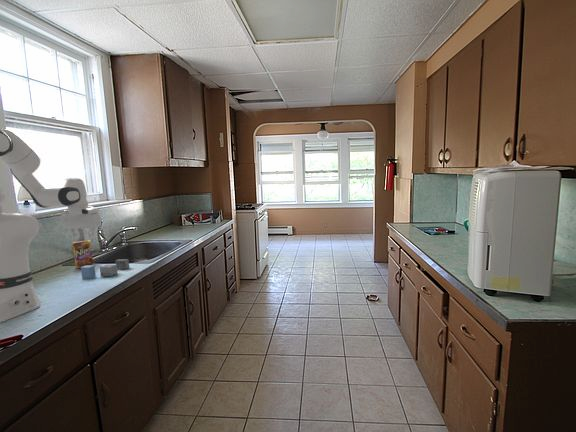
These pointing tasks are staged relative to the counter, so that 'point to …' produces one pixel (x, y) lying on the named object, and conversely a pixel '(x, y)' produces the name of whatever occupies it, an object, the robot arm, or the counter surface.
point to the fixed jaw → (122, 263)
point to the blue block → (88, 271)
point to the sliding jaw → (108, 270)
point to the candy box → (82, 253)
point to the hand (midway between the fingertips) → (83, 236)
